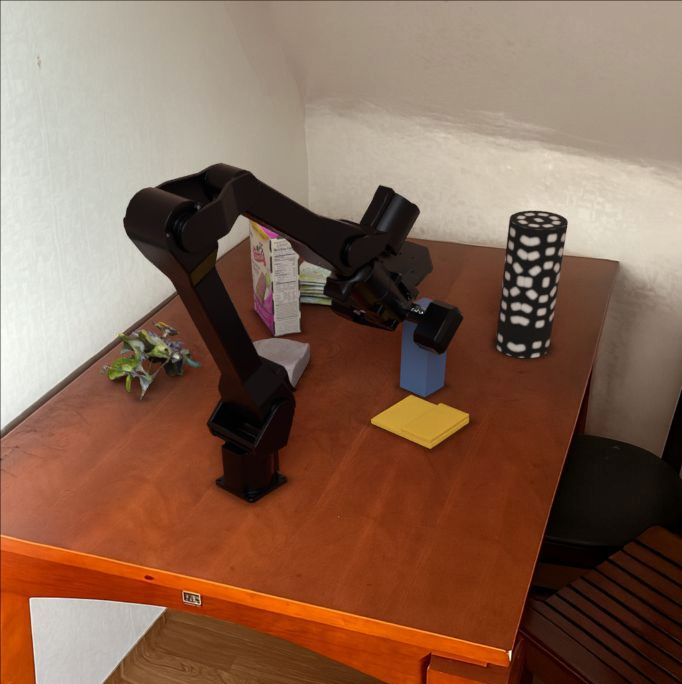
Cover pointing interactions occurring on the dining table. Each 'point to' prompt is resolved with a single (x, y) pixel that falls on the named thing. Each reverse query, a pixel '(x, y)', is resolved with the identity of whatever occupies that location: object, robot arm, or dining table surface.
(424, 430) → the cloth
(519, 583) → the dining table surface
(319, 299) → the towel
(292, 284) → the candy bar box
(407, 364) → the block
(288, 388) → the robot arm
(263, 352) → the stone block
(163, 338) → the passion flower
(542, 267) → the spotted tube
